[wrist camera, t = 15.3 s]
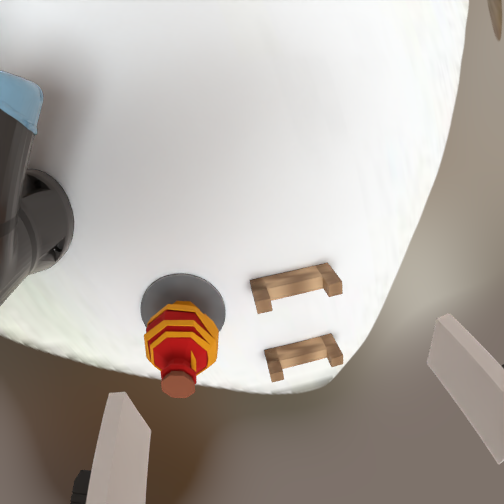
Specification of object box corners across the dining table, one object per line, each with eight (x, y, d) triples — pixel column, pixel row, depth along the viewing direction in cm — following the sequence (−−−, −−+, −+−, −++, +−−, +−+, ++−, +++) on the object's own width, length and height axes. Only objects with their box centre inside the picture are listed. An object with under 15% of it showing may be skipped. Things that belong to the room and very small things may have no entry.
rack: (265, 358, 53) (271, 382, 48) (249, 280, 47) (255, 301, 41) (331, 341, 54) (343, 363, 48) (327, 262, 47) (342, 281, 42)
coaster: (157, 349, 50) (156, 352, 49) (129, 283, 45) (128, 285, 44) (232, 335, 50) (233, 338, 50) (214, 265, 45) (214, 268, 44)
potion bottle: (202, 348, 50) (204, 421, 36) (142, 327, 47) (125, 398, 33) (229, 298, 47) (239, 369, 33) (163, 273, 44) (147, 340, 30)
